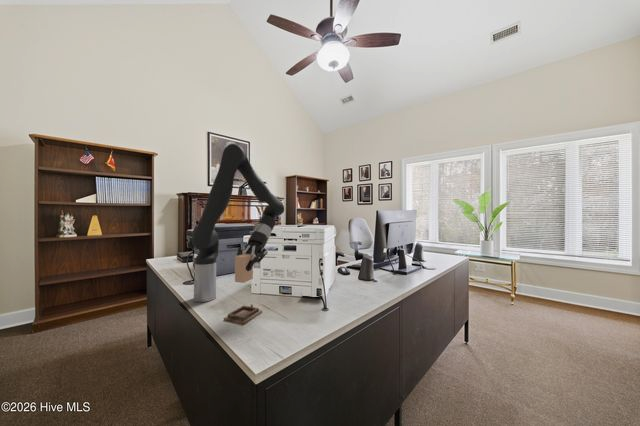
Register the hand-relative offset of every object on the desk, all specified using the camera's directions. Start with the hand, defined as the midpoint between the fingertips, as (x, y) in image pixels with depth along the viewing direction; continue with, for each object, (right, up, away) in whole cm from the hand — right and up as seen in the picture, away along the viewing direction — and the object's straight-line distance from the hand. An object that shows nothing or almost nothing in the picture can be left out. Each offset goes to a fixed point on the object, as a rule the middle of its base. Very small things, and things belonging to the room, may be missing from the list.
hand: (242, 269), depth 95 cm
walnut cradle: (0, -19, +1) cm, 19 cm away
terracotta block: (0, -5, +1) cm, 5 cm away
